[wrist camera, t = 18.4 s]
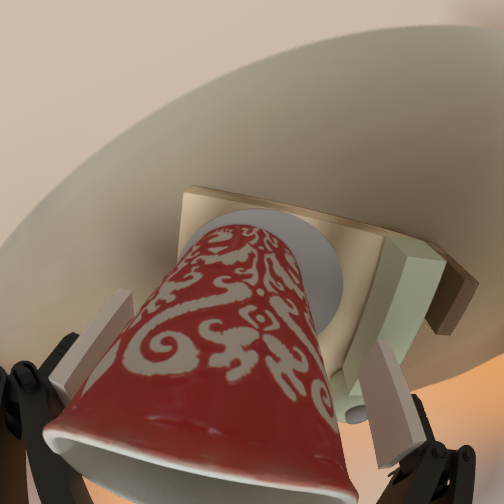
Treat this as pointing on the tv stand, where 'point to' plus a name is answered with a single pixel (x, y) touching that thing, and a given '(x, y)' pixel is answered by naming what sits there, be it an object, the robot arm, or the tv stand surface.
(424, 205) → the tv stand surface
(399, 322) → the leg
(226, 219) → the seat pad
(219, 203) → the board
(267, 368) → the mug
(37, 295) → the tv stand surface
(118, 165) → the tv stand surface
